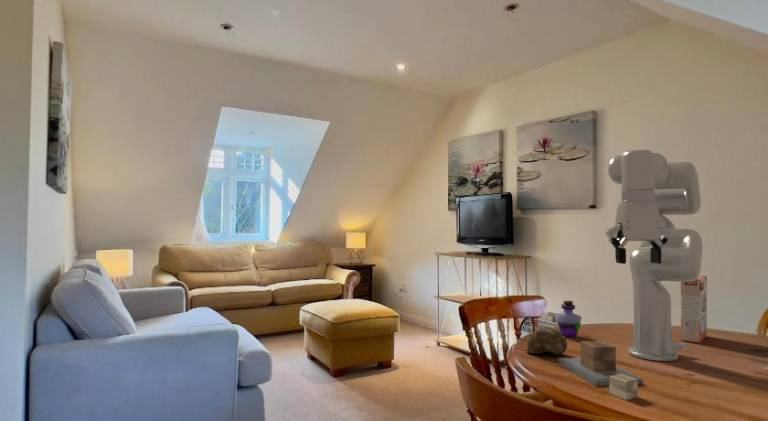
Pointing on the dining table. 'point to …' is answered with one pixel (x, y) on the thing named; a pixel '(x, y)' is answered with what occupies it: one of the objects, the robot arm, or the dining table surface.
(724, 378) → the dining table surface
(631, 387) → the beech block
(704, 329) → the cracker box
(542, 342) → the grey-brown rock
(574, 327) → the potion bottle
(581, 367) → the plate
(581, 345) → the walnut cube
